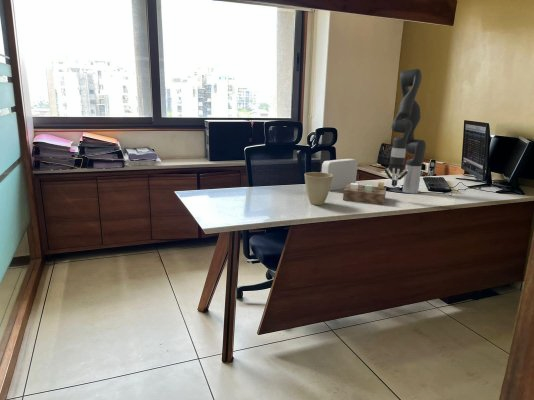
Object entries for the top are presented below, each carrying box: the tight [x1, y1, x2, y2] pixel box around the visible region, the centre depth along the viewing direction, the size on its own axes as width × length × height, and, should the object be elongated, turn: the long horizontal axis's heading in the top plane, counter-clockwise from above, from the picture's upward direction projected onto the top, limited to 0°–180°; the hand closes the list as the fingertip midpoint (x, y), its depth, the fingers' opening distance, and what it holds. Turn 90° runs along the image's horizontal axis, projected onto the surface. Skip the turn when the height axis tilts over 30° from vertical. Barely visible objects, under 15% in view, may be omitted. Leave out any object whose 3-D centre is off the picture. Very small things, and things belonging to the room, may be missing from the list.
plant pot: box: [304, 171, 333, 206], centre depth 202 cm, size 15×15×16 cm
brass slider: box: [377, 181, 385, 189], centre depth 217 cm, size 3×3×4 cm
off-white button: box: [350, 182, 359, 190], centre depth 214 cm, size 4×4×5 cm
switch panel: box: [342, 184, 387, 206], centre depth 217 cm, size 22×18×6 cm
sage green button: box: [364, 183, 374, 192], centre depth 212 cm, size 4×4×5 cm
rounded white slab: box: [321, 158, 358, 192], centre depth 243 cm, size 29×8×18 cm, turn 129°
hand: (393, 186), depth 215 cm, fingers closed
